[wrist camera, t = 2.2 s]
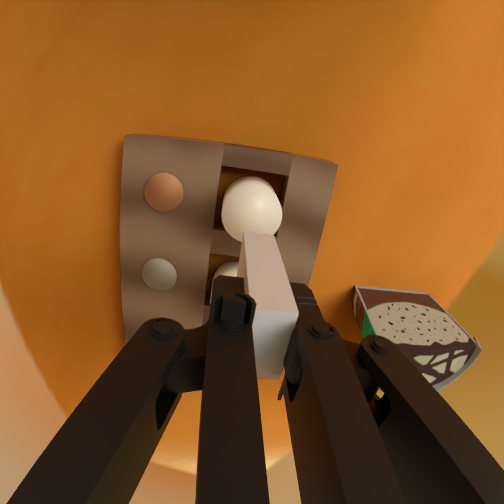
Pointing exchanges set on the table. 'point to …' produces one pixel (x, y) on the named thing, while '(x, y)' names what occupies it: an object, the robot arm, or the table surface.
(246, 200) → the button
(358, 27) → the table surface
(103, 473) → the robot arm
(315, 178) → the board
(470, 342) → the food container
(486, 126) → the table surface
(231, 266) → the button mid
